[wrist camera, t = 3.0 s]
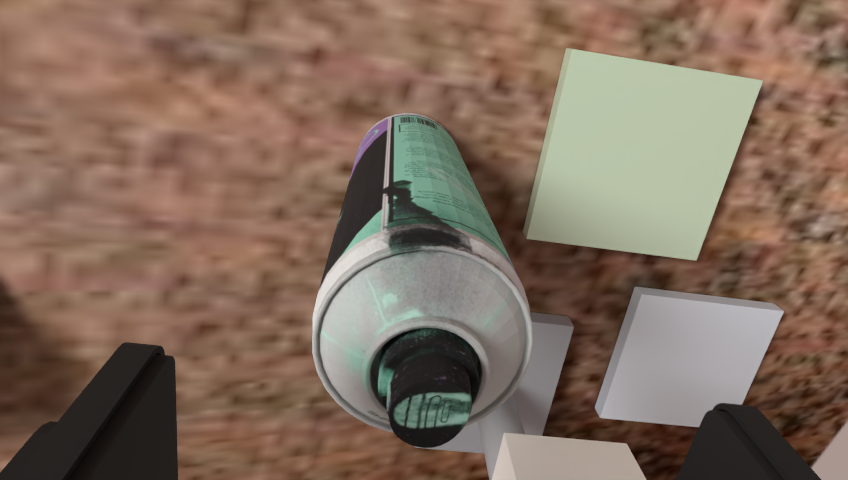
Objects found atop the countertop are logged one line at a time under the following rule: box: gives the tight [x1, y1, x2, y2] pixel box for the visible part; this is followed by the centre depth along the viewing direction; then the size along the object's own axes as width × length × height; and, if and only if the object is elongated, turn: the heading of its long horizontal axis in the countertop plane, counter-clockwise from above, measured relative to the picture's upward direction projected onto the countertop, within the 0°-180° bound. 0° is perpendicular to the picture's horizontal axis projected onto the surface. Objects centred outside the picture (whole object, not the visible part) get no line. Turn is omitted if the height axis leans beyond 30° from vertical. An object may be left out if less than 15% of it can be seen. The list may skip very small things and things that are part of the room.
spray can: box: [312, 113, 533, 448], centre depth 20 cm, size 6×6×20 cm
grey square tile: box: [595, 287, 784, 427], centre depth 34 cm, size 9×9×1 cm
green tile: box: [523, 48, 763, 260], centre depth 29 cm, size 10×10×1 cm
